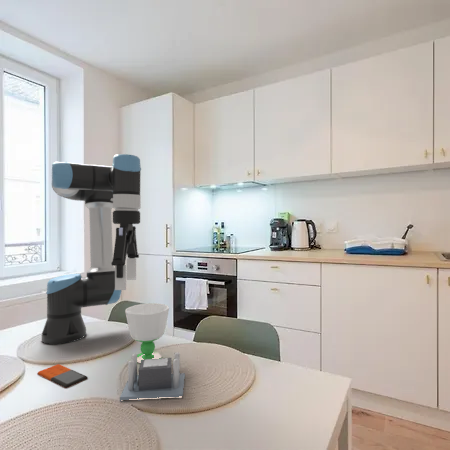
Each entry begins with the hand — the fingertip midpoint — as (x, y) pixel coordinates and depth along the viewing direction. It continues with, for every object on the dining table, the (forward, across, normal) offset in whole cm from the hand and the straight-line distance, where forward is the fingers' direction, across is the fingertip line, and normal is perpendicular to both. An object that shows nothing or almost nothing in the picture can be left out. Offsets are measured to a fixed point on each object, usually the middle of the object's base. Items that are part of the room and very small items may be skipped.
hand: (126, 284), depth 89 cm
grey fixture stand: (+25, +10, +10) cm, 29 cm away
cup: (+26, -9, +5) cm, 28 cm away
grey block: (+24, +10, +10) cm, 28 cm away
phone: (+27, +1, -17) cm, 32 cm away
